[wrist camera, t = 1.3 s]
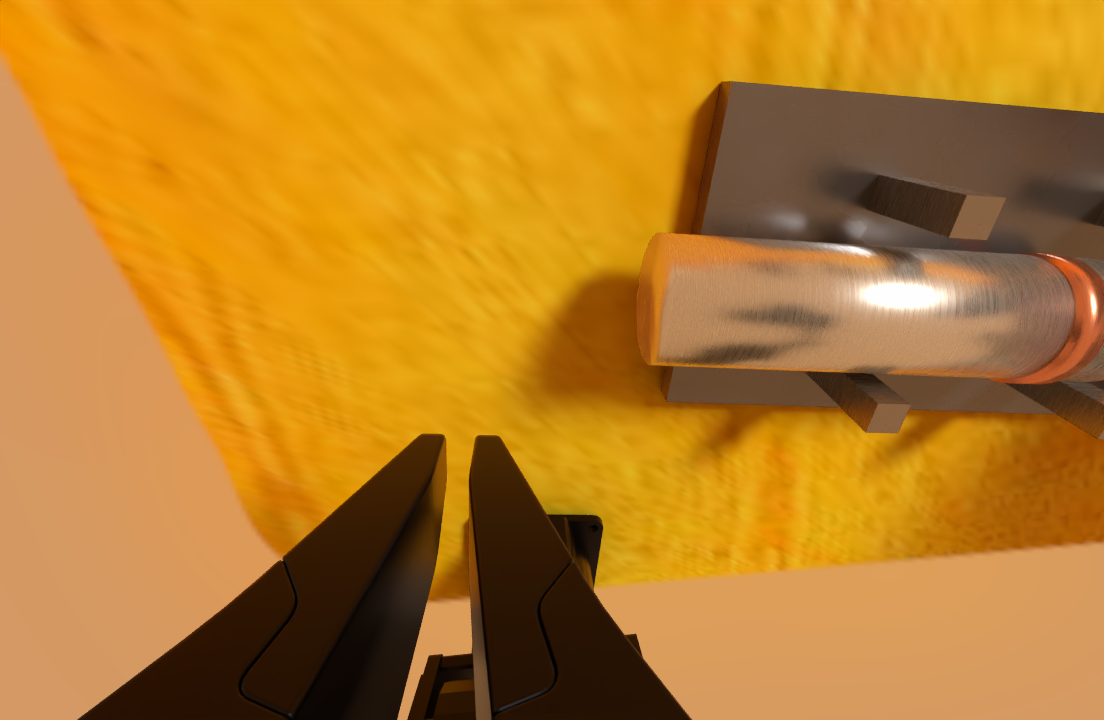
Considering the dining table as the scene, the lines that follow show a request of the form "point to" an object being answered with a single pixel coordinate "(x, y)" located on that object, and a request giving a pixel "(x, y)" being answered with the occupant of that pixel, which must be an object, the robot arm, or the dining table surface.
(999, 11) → the dining table surface
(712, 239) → the tube
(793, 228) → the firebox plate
